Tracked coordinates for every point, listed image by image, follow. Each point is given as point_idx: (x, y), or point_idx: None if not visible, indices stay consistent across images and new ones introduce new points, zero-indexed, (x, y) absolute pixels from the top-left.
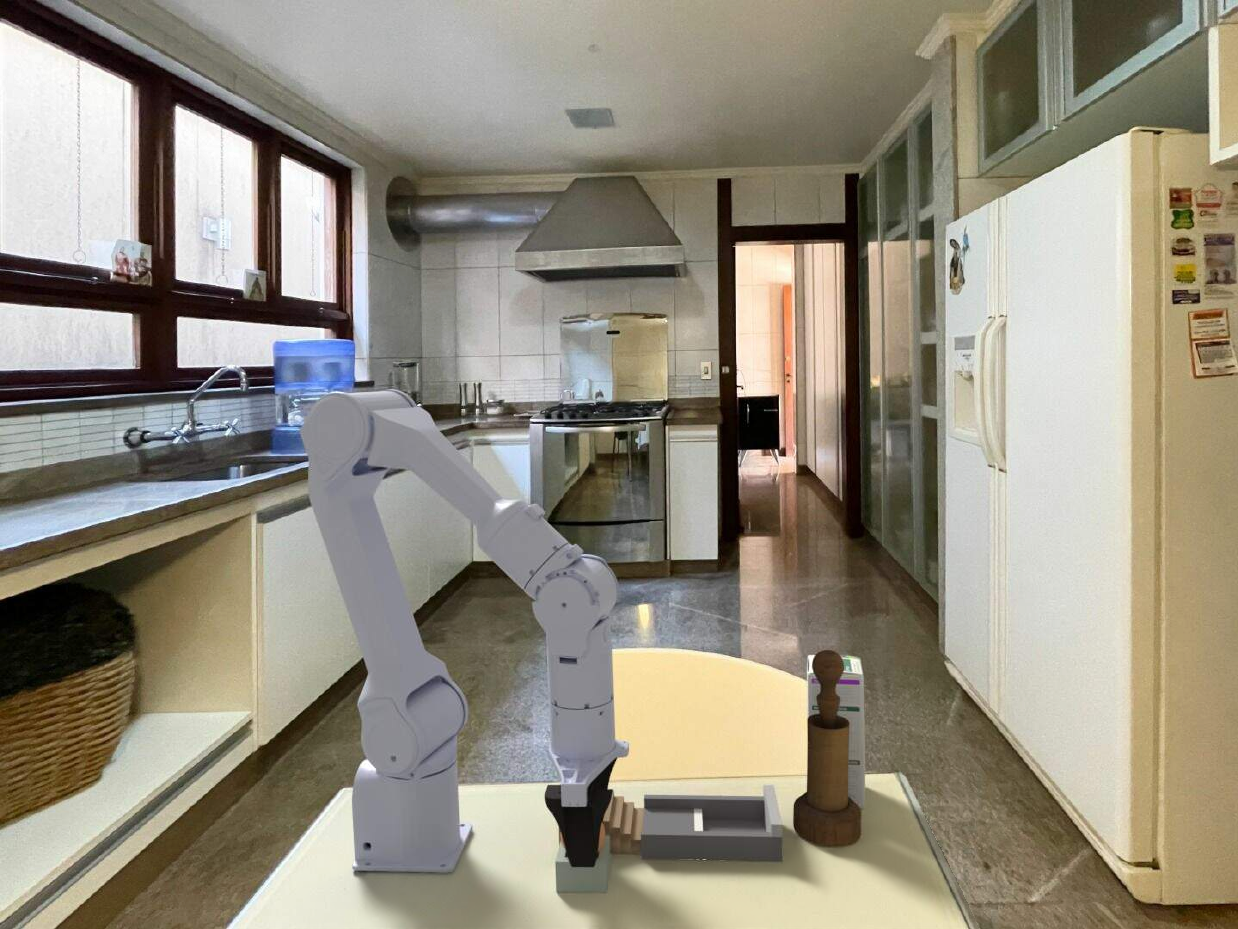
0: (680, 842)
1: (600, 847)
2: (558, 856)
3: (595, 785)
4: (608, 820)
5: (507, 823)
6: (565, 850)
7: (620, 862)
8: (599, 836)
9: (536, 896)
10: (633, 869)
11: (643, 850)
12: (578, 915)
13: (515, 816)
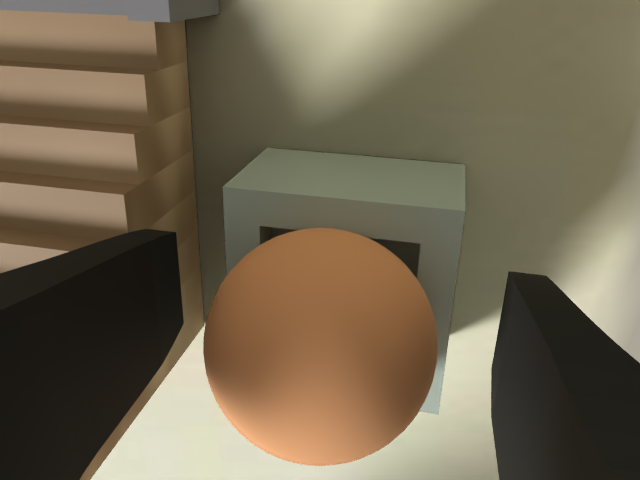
0: None
1: (381, 246)
2: None
3: (38, 376)
4: (115, 197)
5: None
6: None
7: (247, 106)
8: (580, 340)
9: (460, 396)
10: (294, 49)
11: (201, 4)
12: (598, 267)
13: None
